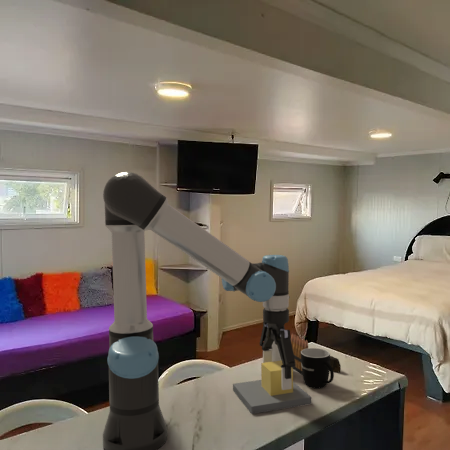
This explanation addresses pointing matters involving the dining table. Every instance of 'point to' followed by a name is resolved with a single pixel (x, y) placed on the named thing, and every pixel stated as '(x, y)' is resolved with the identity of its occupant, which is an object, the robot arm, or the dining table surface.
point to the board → (268, 397)
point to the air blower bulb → (275, 353)
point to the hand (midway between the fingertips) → (276, 379)
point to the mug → (316, 367)
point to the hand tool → (335, 364)
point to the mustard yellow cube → (273, 378)
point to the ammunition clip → (298, 351)
